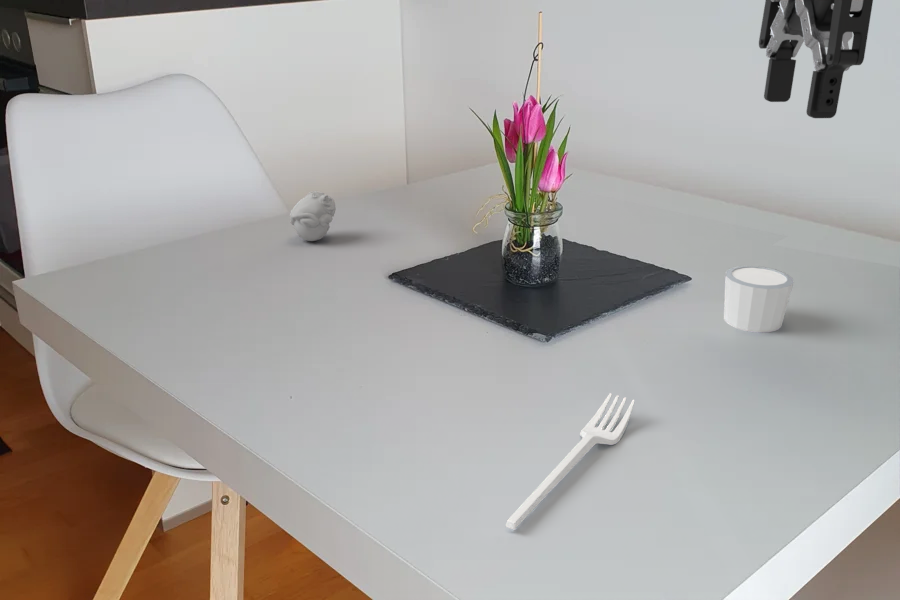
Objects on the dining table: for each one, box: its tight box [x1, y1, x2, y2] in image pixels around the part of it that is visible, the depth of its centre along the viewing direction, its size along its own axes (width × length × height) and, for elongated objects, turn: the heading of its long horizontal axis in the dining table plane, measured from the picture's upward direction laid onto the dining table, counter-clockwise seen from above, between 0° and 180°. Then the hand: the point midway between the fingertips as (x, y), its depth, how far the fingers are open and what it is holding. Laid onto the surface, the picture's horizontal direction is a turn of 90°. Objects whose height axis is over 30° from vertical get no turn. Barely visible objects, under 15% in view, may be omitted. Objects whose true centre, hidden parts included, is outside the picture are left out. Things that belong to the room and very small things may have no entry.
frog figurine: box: [289, 190, 337, 242], centre depth 120 cm, size 6×7×7 cm
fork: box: [505, 392, 635, 530], centre depth 67 cm, size 3×20×2 cm, turn 146°
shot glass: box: [723, 265, 795, 334], centre depth 89 cm, size 7×7×7 cm
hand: (797, 108), depth 73 cm, fingers open, 8 cm apart
